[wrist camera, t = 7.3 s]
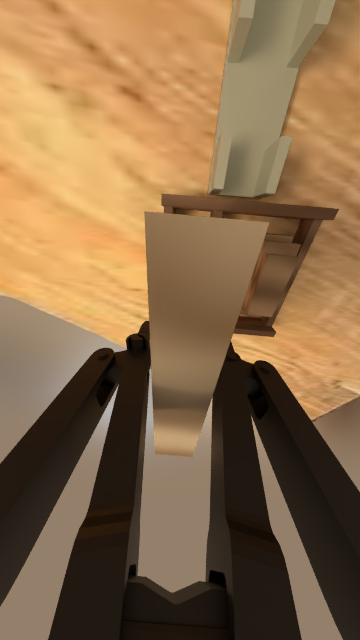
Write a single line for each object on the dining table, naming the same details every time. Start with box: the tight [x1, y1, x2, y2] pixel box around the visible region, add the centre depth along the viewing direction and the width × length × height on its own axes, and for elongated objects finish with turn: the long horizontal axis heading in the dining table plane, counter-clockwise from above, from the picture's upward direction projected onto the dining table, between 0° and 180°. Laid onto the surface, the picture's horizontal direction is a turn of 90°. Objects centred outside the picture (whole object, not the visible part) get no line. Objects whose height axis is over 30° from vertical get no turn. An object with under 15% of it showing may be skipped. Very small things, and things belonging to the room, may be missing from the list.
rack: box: [162, 194, 339, 337], centre depth 27 cm, size 21×23×6 cm
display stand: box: [208, 0, 336, 199], centre depth 17 cm, size 16×8×6 cm, turn 176°
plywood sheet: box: [145, 212, 270, 457], centre depth 13 cm, size 16×3×11 cm, turn 176°
